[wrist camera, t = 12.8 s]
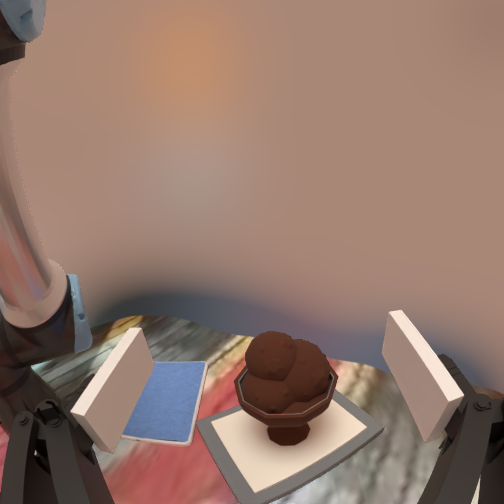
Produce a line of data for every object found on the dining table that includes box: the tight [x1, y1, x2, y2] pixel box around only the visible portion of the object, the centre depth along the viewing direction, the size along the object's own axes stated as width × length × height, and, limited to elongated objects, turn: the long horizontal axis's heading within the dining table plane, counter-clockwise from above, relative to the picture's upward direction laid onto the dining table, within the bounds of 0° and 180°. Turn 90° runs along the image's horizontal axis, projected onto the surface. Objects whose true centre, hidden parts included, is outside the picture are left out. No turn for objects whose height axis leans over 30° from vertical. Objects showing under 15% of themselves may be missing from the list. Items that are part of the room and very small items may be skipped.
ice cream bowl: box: [234, 331, 338, 446], centre depth 27 cm, size 11×11×15 cm
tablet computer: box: [120, 361, 208, 447], centre depth 38 cm, size 19×13×1 cm, turn 179°
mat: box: [195, 389, 385, 504], centre depth 30 cm, size 16×20×1 cm
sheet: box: [211, 399, 367, 494], centre depth 29 cm, size 13×16×1 cm
